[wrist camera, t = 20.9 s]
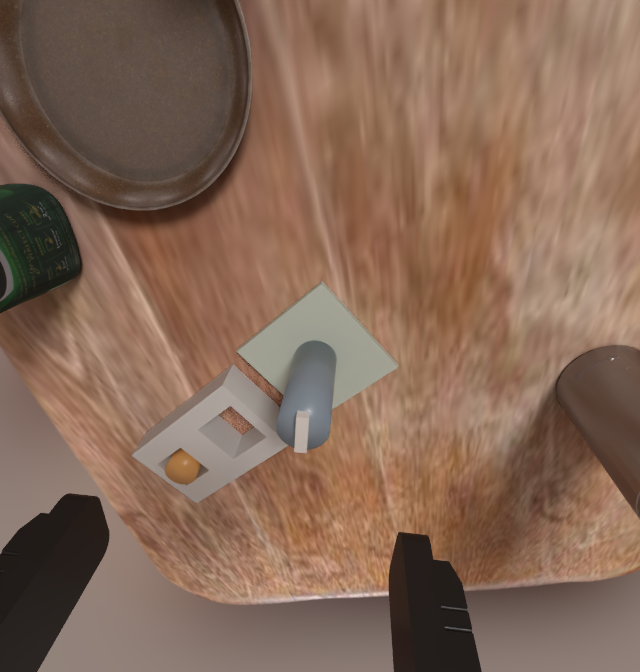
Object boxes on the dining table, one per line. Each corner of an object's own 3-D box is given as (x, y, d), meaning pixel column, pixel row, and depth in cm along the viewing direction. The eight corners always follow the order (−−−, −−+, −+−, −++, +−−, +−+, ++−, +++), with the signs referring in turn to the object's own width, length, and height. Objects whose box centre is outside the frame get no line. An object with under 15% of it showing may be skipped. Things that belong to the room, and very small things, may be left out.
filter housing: (232, 364, 45) (222, 385, 41) (294, 420, 48) (289, 444, 44) (147, 431, 51) (131, 455, 47) (206, 478, 54) (196, 503, 50)
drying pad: (397, 363, 43) (397, 367, 42) (313, 417, 47) (312, 422, 47) (322, 280, 39) (321, 283, 39) (238, 348, 44) (236, 351, 43)
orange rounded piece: (187, 438, 48) (177, 457, 46) (210, 456, 49) (202, 475, 47) (169, 451, 49) (158, 470, 47) (191, 469, 51) (182, 488, 48)
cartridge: (338, 342, 42) (331, 416, 31) (334, 378, 44) (326, 459, 33) (295, 338, 42) (274, 410, 31) (293, 374, 44) (273, 453, 33)
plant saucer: (74, -209, 26) (37, -250, 23) (315, 60, 31) (310, 55, 28) (-37, 77, 34) (-74, 73, 31) (170, 249, 39) (155, 259, 36)
